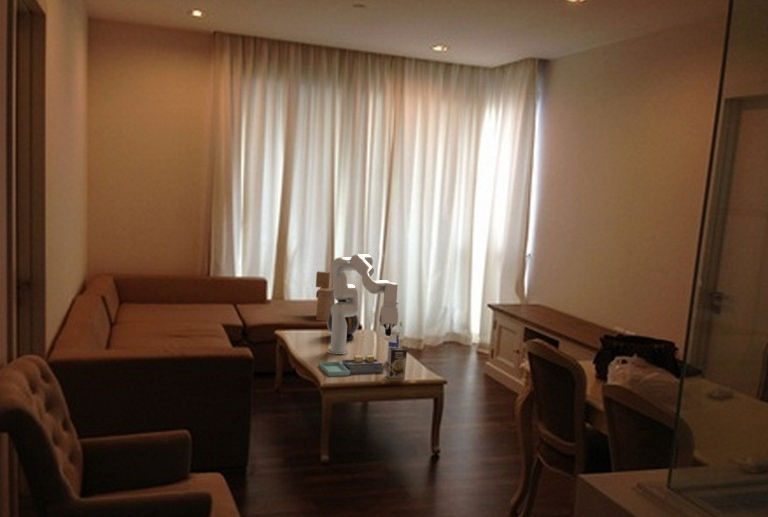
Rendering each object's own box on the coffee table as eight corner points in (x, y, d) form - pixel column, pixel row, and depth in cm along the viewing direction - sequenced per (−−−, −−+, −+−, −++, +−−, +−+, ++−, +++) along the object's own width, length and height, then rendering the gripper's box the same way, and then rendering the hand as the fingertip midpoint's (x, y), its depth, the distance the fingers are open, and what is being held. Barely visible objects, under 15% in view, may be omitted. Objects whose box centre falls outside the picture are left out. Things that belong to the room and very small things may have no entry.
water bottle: (390, 359, 415) (393, 319, 413) (401, 362, 410) (404, 321, 407) (382, 361, 409) (385, 320, 406) (393, 364, 404) (396, 323, 401)
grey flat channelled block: (341, 367, 390) (342, 358, 390) (374, 365, 398) (375, 357, 397) (349, 373, 377) (350, 365, 377) (383, 372, 385) (383, 364, 384)
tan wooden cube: (353, 362, 387) (353, 355, 387) (360, 362, 389) (360, 355, 388) (355, 364, 384) (356, 357, 383) (362, 364, 385) (362, 357, 385)
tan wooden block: (364, 362, 390) (365, 355, 389) (371, 361, 391) (371, 354, 391) (367, 363, 386) (367, 356, 386) (373, 363, 388) (374, 356, 387)
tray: (318, 366, 388) (318, 362, 388) (338, 365, 393) (339, 361, 393) (328, 376, 370) (329, 371, 370) (349, 375, 374) (350, 371, 374)
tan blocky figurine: (315, 315, 538) (318, 271, 534) (333, 316, 537) (335, 272, 533) (310, 319, 519) (313, 274, 516) (329, 321, 518) (332, 275, 514)
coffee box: (389, 378, 374) (391, 350, 372) (386, 375, 380) (388, 347, 378) (405, 378, 376) (407, 350, 375) (401, 375, 382) (403, 347, 381)
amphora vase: (356, 342, 454) (359, 301, 451) (324, 340, 454) (327, 299, 451) (358, 335, 475) (361, 296, 472) (327, 333, 475) (330, 294, 472)
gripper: (399, 302, 395) (397, 333, 397) (375, 302, 390) (373, 334, 391) (404, 305, 388) (402, 336, 390) (380, 305, 383) (378, 337, 384)
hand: (387, 335), depth 391 cm, fingers closed
